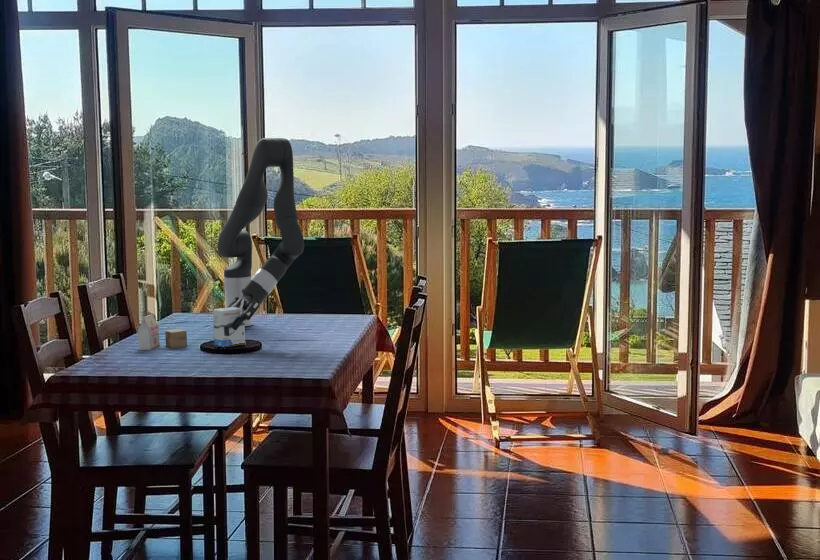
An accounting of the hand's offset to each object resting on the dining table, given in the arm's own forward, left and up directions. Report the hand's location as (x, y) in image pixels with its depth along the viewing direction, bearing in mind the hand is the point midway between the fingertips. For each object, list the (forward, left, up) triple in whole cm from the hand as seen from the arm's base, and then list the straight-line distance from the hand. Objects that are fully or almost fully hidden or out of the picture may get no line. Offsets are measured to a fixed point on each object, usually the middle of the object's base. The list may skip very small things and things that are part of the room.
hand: (227, 326), depth 296 cm
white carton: (-14, -20, -6) cm, 25 cm away
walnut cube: (-11, -12, -6) cm, 18 cm away
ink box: (0, +1, -6) cm, 6 cm away
